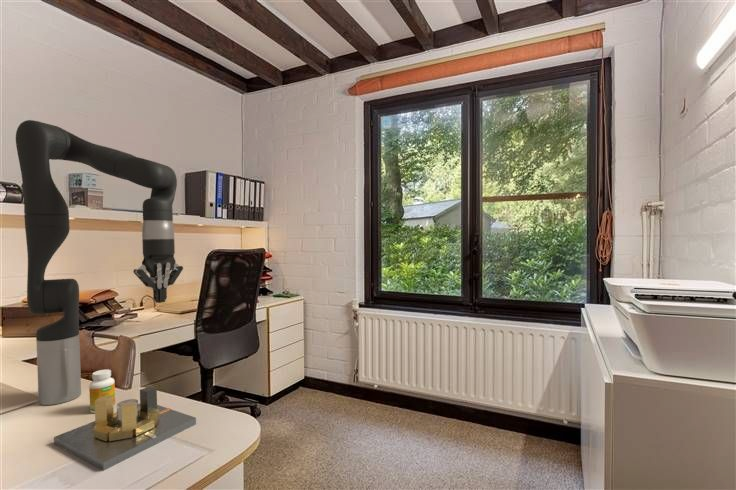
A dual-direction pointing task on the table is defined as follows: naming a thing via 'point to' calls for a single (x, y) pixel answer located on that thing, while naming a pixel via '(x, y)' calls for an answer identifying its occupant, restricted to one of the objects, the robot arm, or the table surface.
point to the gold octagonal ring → (126, 416)
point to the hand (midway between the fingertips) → (160, 302)
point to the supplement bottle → (101, 387)
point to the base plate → (119, 450)
